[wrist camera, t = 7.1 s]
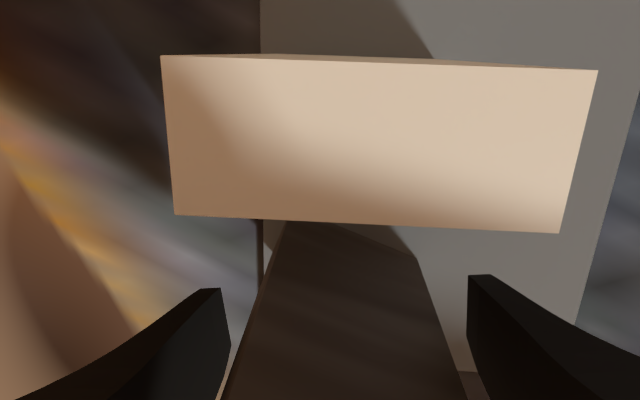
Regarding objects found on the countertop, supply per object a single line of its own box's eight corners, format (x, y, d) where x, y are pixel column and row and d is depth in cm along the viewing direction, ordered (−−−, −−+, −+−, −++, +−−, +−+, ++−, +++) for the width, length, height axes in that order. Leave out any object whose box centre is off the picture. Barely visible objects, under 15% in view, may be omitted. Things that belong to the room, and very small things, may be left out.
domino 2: (292, 206, 15) (227, 404, 7) (416, 258, 16) (505, 506, 7) (272, 252, 16) (189, 485, 7) (392, 300, 16) (447, 574, 8)
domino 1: (276, 53, 13) (159, 55, 5) (434, 58, 13) (598, 69, 5) (276, 116, 14) (174, 215, 6) (426, 122, 14) (559, 233, 5)
